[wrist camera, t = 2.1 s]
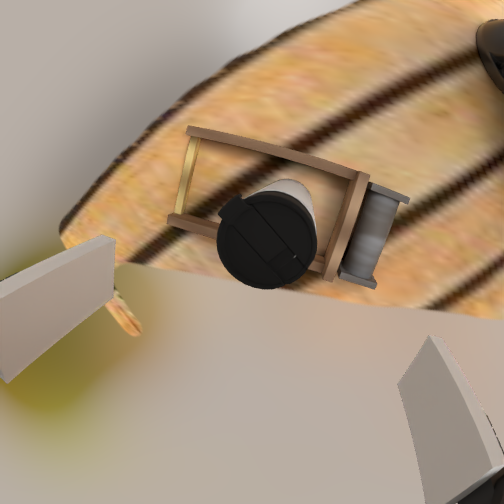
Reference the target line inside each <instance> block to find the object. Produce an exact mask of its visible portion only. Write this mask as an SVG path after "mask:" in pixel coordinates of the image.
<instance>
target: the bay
mask: <svg viewBox="0 0 504 504" xmlns="http://www.w3.org/2000/svg"><path fill="white" fill-rule="evenodd" d="M186 135H190V136H191V138H190V142H189V146H188V151H187V155H186V159H185V163H184V168H183V172H182V177H181V181H180V186H179V191H178V196H177V200H176V206H175V211H174V213H172V214H170V215H168V219H167V224H169V225H172V226H175V227H178V228H181V229H185V230H188V231H191V232H194V233H197V234H200V235H203V236H207V237H210V238H213V239H217V231H218V228H219V225H220V224H218V223H215V222H212V221H209V220H205V219H202V218H199V217H195V216H192V215H189V214H185V213H184V211H185V207H186V202H187V197H188V192H189V188H190V183H191V179H192V174H193V170H194V166H195V162H196V158H197V153H198V149H199V145H200V141H201V138H204V139H209V140H214V141H218V142H223V143H227V144H231V145H236V146H240V147H244V148H248V149H252V150H256V151H259V152H263V153H267V154H271V155H274V156H278V157H281V158H285V159H288V160H292V161H295V162H298V163H302V164H305V165H308V166H311V167H314V168H318V169H321V170H324V171H327V172H330V173H333V174H336V175H339V176H342V177H344V178H347V179H350V181H349V185H348V188H347V191H346V194H345V197H344V200H343V204H342V207H341V210H340V213H339V216H338V219H337V222H336V225H335V227H334V230H333V233H332V236H331V239H330V242H329V245H328V247H327V250H326V253H325V256H324V257H323V256H320V255H317V254H316V255H315V259H314V260H313V262H312V263H311V265H310V266H309V268H308V269H310V270H313V271H316V272H319V273H322V277H323V280H326V281H329V282H333V280H334V277H335V275H336V272H337V273H338V276H339V278H340V279H343V280H346V281H349V282H352V283H356V284H359V285H362V286H365V287H368V288H371V289H374V290H375V288H376V286H377V282H376V280H375V279H374V277H373V275H372V274H373V271H374V269H375V267H376V264H377V262H378V259H379V257H380V254H381V252H382V249H383V247H384V244H385V242H386V239H387V236H388V234H389V231H390V228H391V225H392V223H393V220H394V217H395V214H396V211H397V208H398V205H399V202H403V203H405V204H408V203H409V200H410V198H409V197H407V196H404V195H402V194H399V193H397V192H395V191H392V190H390V189H387V188H385V187H382V186H380V185H377V184H375V183H371V182H368V181H369V178H370V175H369V174H366V173H363V172H361V171H356V170H353V169H350V168H347V167H344V166H342V165H339V164H336V163H333V162H330V161H327V160H324V159H321V158H318V157H314V156H311V155H308V154H305V153H301V152H298V151H295V150H291V149H288V148H284V147H281V146H277V145H273V144H270V143H266V142H262V141H258V140H254V139H250V138H246V137H242V136H237V135H233V134H228V133H224V132H219V131H214V130H210V129H204V128H199V127H194V126H188V127H187V131H186ZM366 188H368V189H369V191H368V195H367V198H366V201H365V204H364V207H363V210H362V213H361V216H360V219H359V221H358V224H357V227H356V230H355V233H354V236H353V238H352V241H351V244H350V246H349V249H348V252H347V254H346V257H345V260H344V261H342V260H341V259H342V257H343V254H344V251H345V249H346V246H347V243H348V240H349V238H350V235H351V232H352V229H353V226H354V224H355V221H356V218H357V215H358V212H359V209H360V206H361V203H362V200H363V197H364V194H365V191H366Z"/></svg>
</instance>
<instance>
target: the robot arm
mask: <svg viewBox="0 0 504 504" xmlns="http://www.w3.org/2000/svg"><path fill="white" fill-rule="evenodd" d="M477 46H478V50H479V54H480V56H481V59H482V61H483V64H484V66H485V68H486V70H487V71H488V73H489V75H490V76H491V78H492V80H493V81H494V82H495V84H496V85H497V86H498V88H499V89H500V90H501V91H502V92H503V93H504V19H501V20H498V19H492V20H488V21H487V22H485V23H484V24H482V25H481V26H480V27H479V29H478V31H477ZM115 244H116V240H115V239H113V238H110V237H107V236H104V235H100V236H98V237H95V238H93V239H91V240H88V241H86V242H84V243H81V244H79V245H77V246H74V247H72V248H70V249H68V250H65V251H63V252H61V253H59V254H57V255H54V256H52V257H50V258H48V259H46V260H44V261H42V262H39V263H37V264H35V265H33V266H31V267H29V268H27V269H25V270H23V271H21V272H18V273H15V274H13V275H11V276H9V277H7V278H6V279H5V280H4V279H3V280H1V281H0V377H1V378H2V379H3V380H4V381H5V382H6V383H9V382H10V381H11V380H12V379H13V378H14V377H16V376H17V375H18V374H19V373H20V372H21V371H22V370H24V369H25V368H26V367H27V366H28V365H30V364H31V363H32V362H33V361H34V360H35V359H37V358H38V357H39V356H40V355H41V354H43V353H44V352H45V351H46V350H47V349H49V348H50V347H51V346H52V345H54V344H55V343H56V342H57V341H58V340H60V339H61V338H62V337H63V336H65V335H66V334H67V333H68V332H70V331H71V330H72V329H73V328H75V327H76V326H77V325H78V324H80V322H82V321H83V320H85V319H86V318H87V317H89V316H90V315H91V314H92V313H94V312H95V311H96V310H98V309H99V308H100V307H102V306H103V305H104V304H105V303H107V302H108V301H109V300H111V299H112V298H113V289H114V260H115ZM397 385H398V388H399V391H400V395H401V398H402V401H403V405H404V408H405V412H406V415H407V419H408V423H409V427H410V430H411V435H412V438H413V442H414V447H415V451H416V455H417V460H418V465H419V470H420V475H421V480H422V485H423V491H424V497H425V503H426V504H456V503H458V504H504V452H503V449H502V447H501V445H500V442H499V440H498V438H497V437H496V433H495V431H494V429H492V424H491V422H490V420H489V418H488V416H487V415H486V414H485V412H484V410H483V408H482V406H481V404H480V402H479V400H478V398H477V397H476V395H475V393H474V391H473V389H472V387H471V385H470V384H469V382H468V380H467V378H466V376H465V375H464V373H463V371H462V369H461V368H460V366H459V364H458V363H457V361H456V359H455V358H454V356H453V354H452V353H451V351H450V349H449V348H448V346H447V345H446V343H445V341H444V340H443V338H441V337H437V336H433V335H428V337H427V339H426V341H425V342H424V344H423V346H422V348H421V349H420V351H419V352H418V354H417V356H416V357H415V359H414V360H413V362H412V363H411V365H410V366H409V368H408V370H407V371H406V373H405V374H404V375H403V377H402V378H401V380H400V381H399V383H398V384H397Z"/></svg>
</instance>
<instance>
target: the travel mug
mask: <svg viewBox="0 0 504 504" xmlns="http://www.w3.org/2000/svg"><path fill="white" fill-rule="evenodd" d="M241 197H242V195H241V194H239V195H236V196H235V197H233V198H232V199H231V200H230V201H229V202H228V203H226V204H225V205H224V206H223V207H222V209H221V210H220V211H219V213H218V215H219V216H220V217H221V219H222V220H221V223H220V225H219V228H218V231H217V239H216V242H217V250H218V254H219V257H220V259H221V261H222V263H223V265H224V267H225V268H226V269H227V270H228V272H229V273H230V274H231V275H232V276H233V277H235V278H236V279H237V280H239V281H240V282H242V283H244V284H246V285H248V286H251V287H254V288H259V289H275V288H279V287H282V286H285V284H290V283H292V282H294V281H296V280H297V279H299V278H300V277H301V276H302V275H303V274H304V273H305V272H306V270H307V269H308V268H309V266H310V265H311V263H312V262H313V260H314V259H315V255H316V251H317V230H316V223H315V217H314V211H313V204H312V199H311V195H310V193H309V191H308V190H307V188H306V187H305V186H304V185H303V184H301V183H300V182H298V181H295V180H292V179H282V180H278V181H276V182H274V183H272V184H270V185H268V186H266V187H264V188H262V189H260V190H258V191H256V192H254V193H253V194H251V195H249V196H247V197H246V198H245V199H242V198H241Z"/></svg>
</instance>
